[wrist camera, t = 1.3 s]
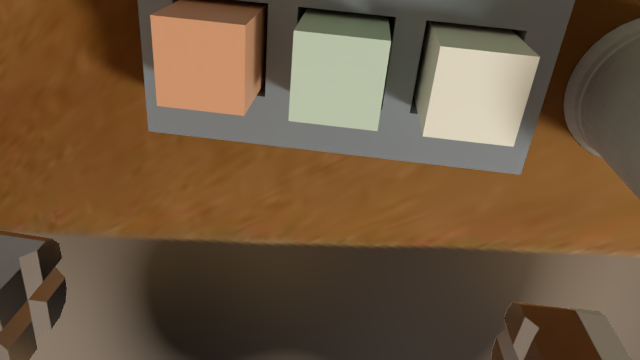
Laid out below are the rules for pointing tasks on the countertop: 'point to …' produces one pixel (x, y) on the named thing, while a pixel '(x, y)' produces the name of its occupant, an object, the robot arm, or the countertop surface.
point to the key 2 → (473, 83)
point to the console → (398, 98)
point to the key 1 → (210, 54)
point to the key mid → (339, 68)
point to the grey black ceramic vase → (609, 102)
